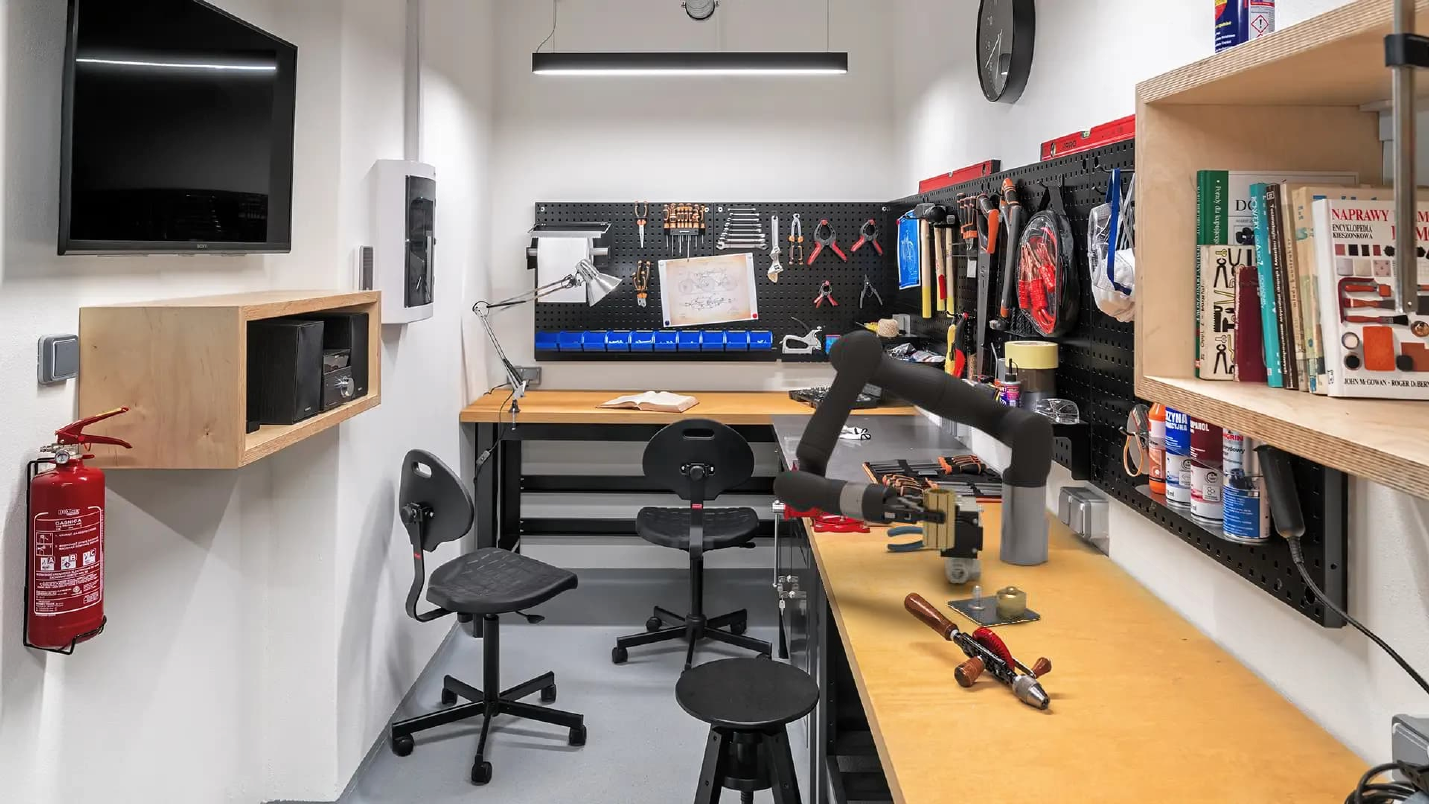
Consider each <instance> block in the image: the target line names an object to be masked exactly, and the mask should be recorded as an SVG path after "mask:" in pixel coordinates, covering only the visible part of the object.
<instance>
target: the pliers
mask: <svg viewBox="0 0 1429 804" xmlns="http://www.w3.org/2000/svg"><path fill="white" fill-rule="evenodd" d="M886 533H887V534H886V535H887V537H888V538H892V537H896V536H903V535H921V536H923V526H914V525H903V526H902V525H901V526H895V527H893V528H889V529H887V531H886ZM923 548H926V546H924V545H923V539H920V540H917V541H913V542H909V543H900V544H899V543H898V544H897V543H888V544H887V546H886V549H888V550H889V551H892V552H896V553H897V552H902V553H903V552H910V551H916V550H919V549H923Z"/></svg>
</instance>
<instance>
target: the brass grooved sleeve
mask: <svg viewBox="0 0 1429 804" xmlns="http://www.w3.org/2000/svg"><path fill="white" fill-rule="evenodd" d="M922 492H923V494H922V495H923V508H924V509H925V510H926V509H929V510H936V511H943V512H945V513H946V523H944V524H936V523H930V522H924V523H922V527H923V535H922V540H923V545H924V546H926V547H927V548H928V549H929V548H930V549H935V550H936V549H937V550H940V549H946V548H947V549H948V548H952V547H954V543H955V497H956V495H957V494H956V490H955V489H954V490H953V489H950V488H944V487H928V488H925V489H923V491H922ZM926 547H925V548H926Z"/></svg>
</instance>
